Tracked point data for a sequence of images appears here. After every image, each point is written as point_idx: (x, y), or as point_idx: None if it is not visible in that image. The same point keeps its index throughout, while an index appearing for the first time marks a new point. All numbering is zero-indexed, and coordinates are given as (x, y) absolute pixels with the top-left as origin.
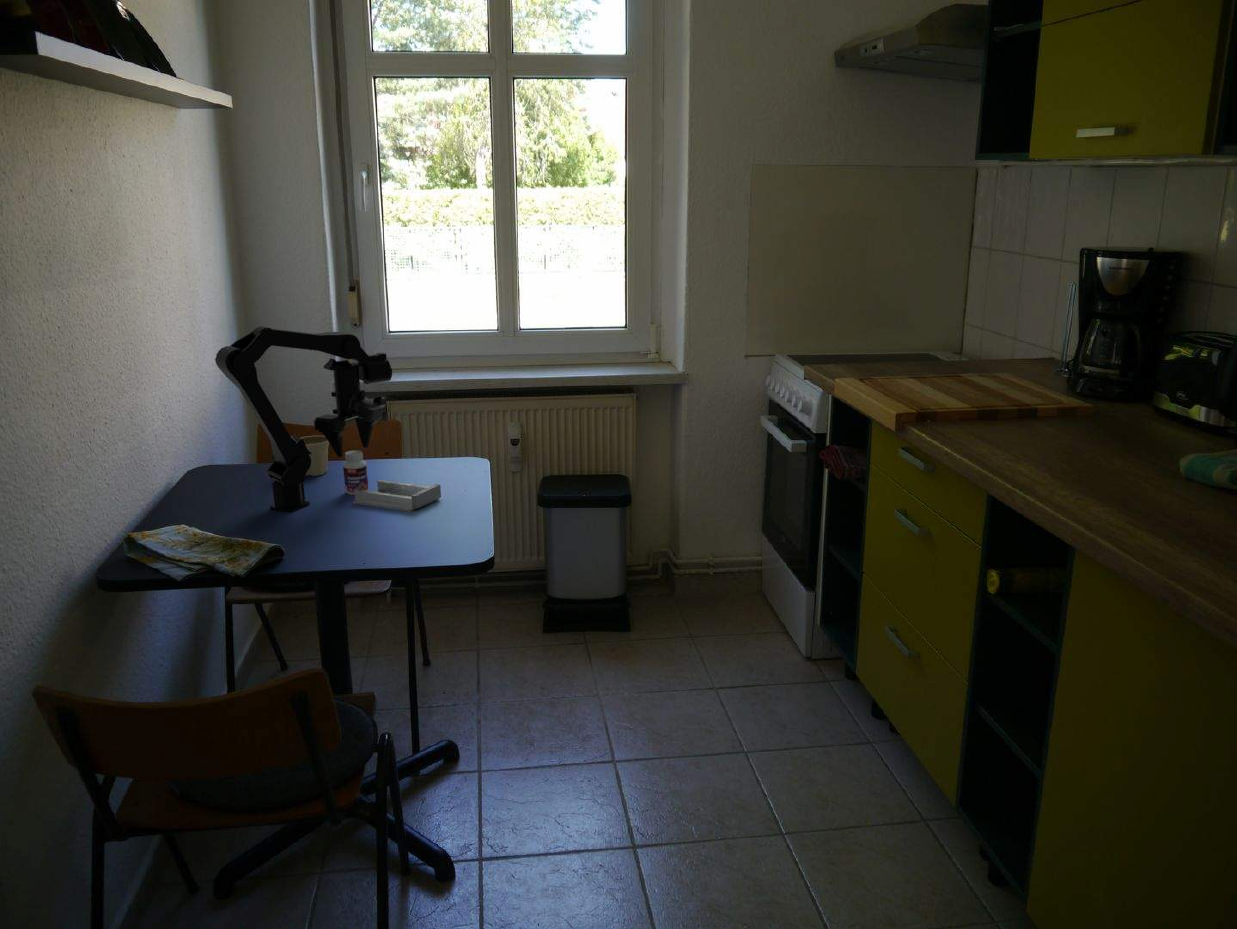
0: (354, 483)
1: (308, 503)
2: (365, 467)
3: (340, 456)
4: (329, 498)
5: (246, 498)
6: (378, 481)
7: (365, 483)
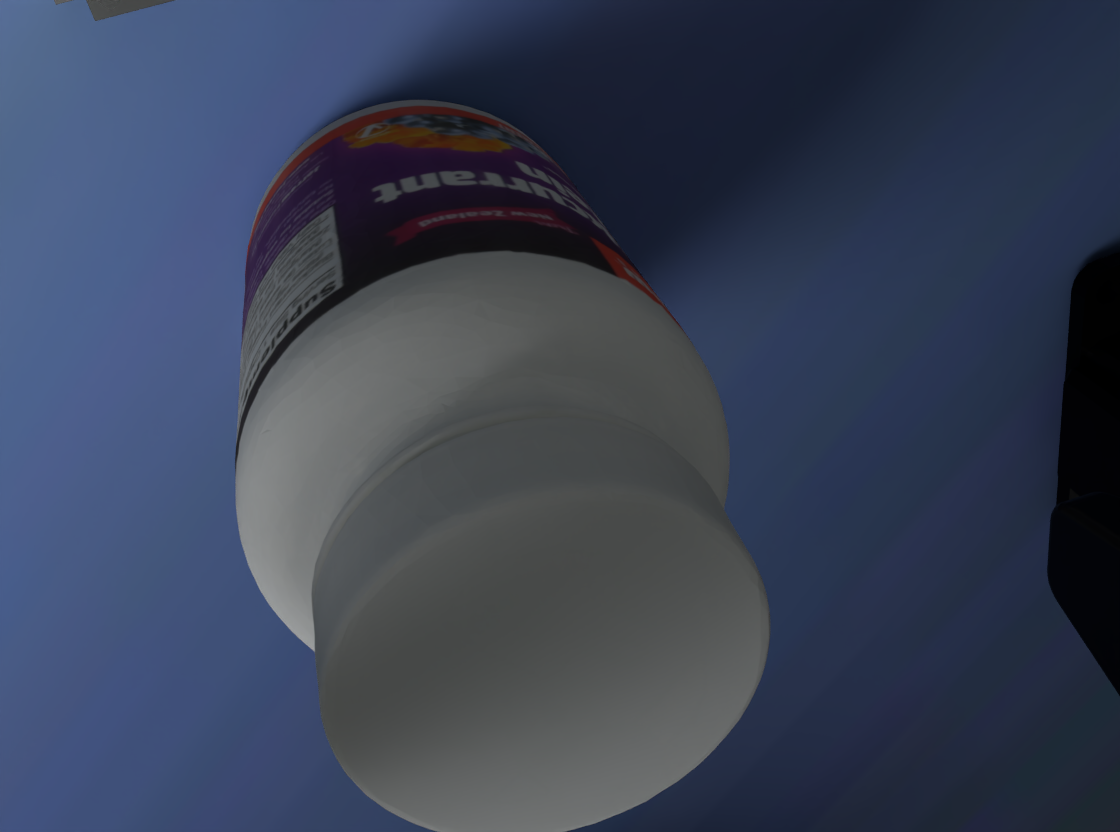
0: (582, 201)
1: (1115, 261)
2: (363, 274)
3: (1111, 510)
4: (804, 299)
5: (1100, 793)
6: None
7: (378, 149)
